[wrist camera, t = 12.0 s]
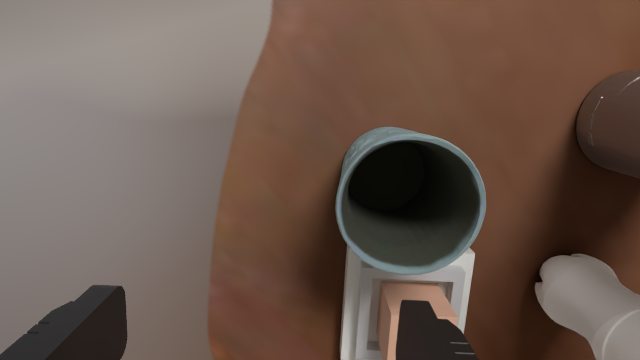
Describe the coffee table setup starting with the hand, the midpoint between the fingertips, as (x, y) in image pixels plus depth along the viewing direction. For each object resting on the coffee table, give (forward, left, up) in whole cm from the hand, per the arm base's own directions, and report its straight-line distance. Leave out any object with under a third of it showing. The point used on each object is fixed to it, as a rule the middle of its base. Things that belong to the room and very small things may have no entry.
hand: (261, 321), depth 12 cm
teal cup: (-8, +1, -28) cm, 29 cm away
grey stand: (-11, +14, -28) cm, 33 cm away
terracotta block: (-11, +14, -26) cm, 32 cm away
